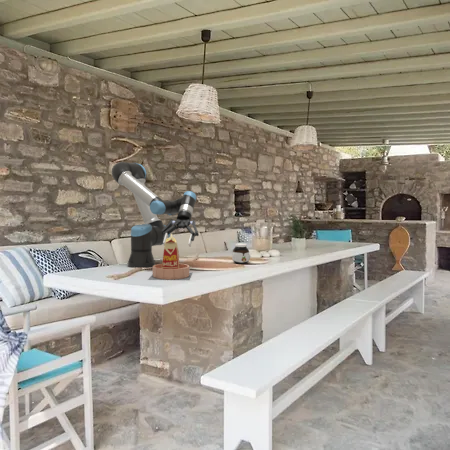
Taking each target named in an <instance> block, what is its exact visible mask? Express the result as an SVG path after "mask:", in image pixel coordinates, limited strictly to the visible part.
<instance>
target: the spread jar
mask: <svg viewBox="0 0 450 450" xmlns="http://www.w3.org/2000/svg"><path fill="white" fill-rule="evenodd" d="M247 245H248V244H247V243H239V242H238V243H235V245H234V248H233V249H232V261H233V263H234V264H237V265H246V264H247V263H248V262H249V261H250V259H251V253H250V251H249V248H248V247H247Z"/></svg>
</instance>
